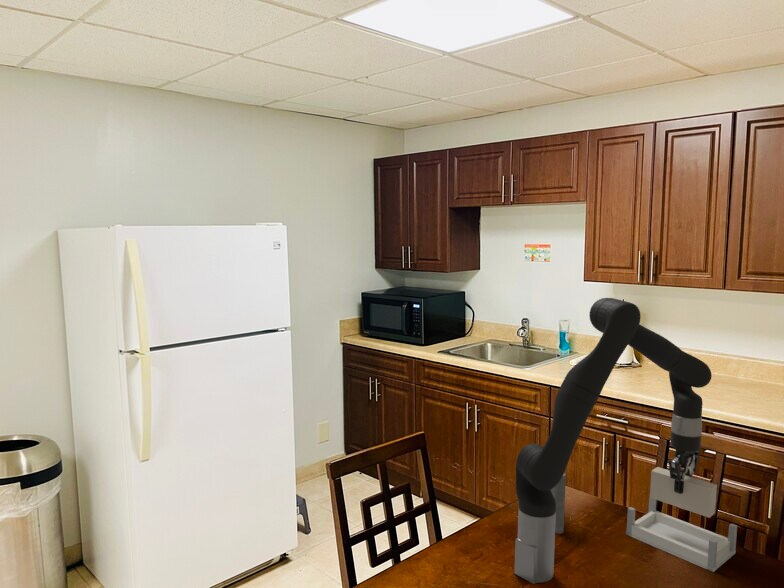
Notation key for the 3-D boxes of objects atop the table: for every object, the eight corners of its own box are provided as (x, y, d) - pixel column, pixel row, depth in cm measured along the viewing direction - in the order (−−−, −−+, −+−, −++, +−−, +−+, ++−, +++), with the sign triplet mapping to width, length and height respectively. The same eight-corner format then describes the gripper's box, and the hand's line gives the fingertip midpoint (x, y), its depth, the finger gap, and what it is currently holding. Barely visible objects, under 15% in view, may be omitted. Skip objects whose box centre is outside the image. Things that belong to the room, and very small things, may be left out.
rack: (713, 572, 153) (715, 543, 152) (626, 534, 171) (627, 508, 170) (735, 553, 162) (737, 525, 161) (650, 519, 180) (651, 494, 179)
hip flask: (565, 533, 172) (567, 467, 169) (551, 533, 172) (553, 467, 169) (549, 507, 187) (551, 447, 185) (536, 507, 187) (538, 447, 185)
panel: (709, 517, 158) (711, 489, 157) (649, 497, 170) (651, 470, 169) (714, 512, 161) (716, 484, 160) (655, 493, 172) (657, 466, 171)
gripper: (688, 440, 155) (684, 502, 157) (711, 428, 164) (707, 487, 166) (660, 432, 161) (656, 492, 163) (684, 421, 170) (680, 478, 172)
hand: (682, 489), depth 165 cm, fingers closed on panel, 4 cm apart
